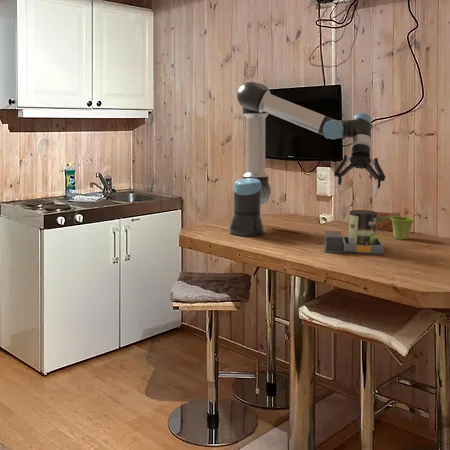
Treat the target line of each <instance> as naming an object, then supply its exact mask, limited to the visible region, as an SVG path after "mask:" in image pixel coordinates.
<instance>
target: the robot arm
mask: <svg viewBox="0 0 450 450" xmlns="http://www.w3.org/2000/svg"><path fill="white" fill-rule="evenodd" d="M236 97H237V102H238V103H239V105H240V106H241V107H242V115H243V116H244V117H245V130H246V131H245V138H246V139H245V142H246V144H245V147H246V149H245V156H246V157H245V158H246V159H245V167H246V168H245V172H244V174H243V175H242V178H239V179H237V180H235V181H234V185H233V216H232V219H231V222H230V224H229V230H228V233H229V234H231V235H233V236H234V235H235V236H239V237H241V236H242V237H243V236H244V237H255V236H261V235H264V234H265V229H264V224H263V221H262V216H261V208H262V207H261V205H263V204H265V203H266V202H267V201H268V200H269V198H270V196H271V194H272V193H271V191H272V190H271V189H272V188H271V186H270V183H269V181H270V180H269V174H268V173H267V172H266V118H267V117H268V116H269V114H270V115H272V116H274V117H277V118H280V119H282V120H285V121H287V122H289V123H292V124H294V125H296V126H299V127H301V128H303V129H304V128H305V129H307V130H309V131H312V132H314V133H316V134H319V135H322V136H324V138H325V139H330V140H338V139H350V138H351V139H352V140H351V141H352V142H351V154H350V156H348V155H346V154H344V156H343V157H342V158H343V159H342V161H341V163H340V164H339V165H338V166H337V168H336V169H335V171H334V174H333V176H334V177H335V178H337V180H338V181H337V184H338V186H340V188H339V189H340V190H339V192H340V194H343V192H344V176H345V175H346V174H347V173H349V172H350V171H351V170H353V169H354V168H355V169H362V170H364V169H365V170H366V171H367V172H368V173H369V174H370V176H372V177H373V179H374V180H375V181H374V192H373V193H374V194H373V195H374V196H373V197H377V195H378V191H379V189H381V183H382V182H384V181H385V180H386V176H385V173H384V171H383V169H382V168H381V166H380V164H379V159H378V158H377V157H375V158H371V141H372V139H371V138H372V117H371V116H370V115H369V114H367V113H366V112H365V113H364V112H359V113H357V114H355V115H354V116H353V119H346V120H345V119H344V120H343V119H342V120H341V119H339V120H337V119H334V118H332V117H329V116H326V115H324V114H321V113H319V112H316V111H314V110H312V109H309V108H308V107H307V108H306V107H304V106H301V105H298V104H296V103H294V102H291V101H289V100H286V99H283V98H281V97H278V96H277V95H274V94H271V91H270V89H269V88H268V87H267V86H266V85H265V84H263V83H261V82H259V83H258V82H255V81H246V82H244V83H243V84H242V85H240V87H239V88H238V90H237V94H236ZM349 161H350V163H349V164H348V165H347V166H346V167H345V165H346V163H347V162H349ZM371 164H372V165H373V166H374V168H373V167H372V165H371ZM344 167H345V168H344ZM343 168H344V169H343ZM342 169H343V170H342ZM375 170H376V171H375Z"/></svg>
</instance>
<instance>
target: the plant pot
mask: <svg viewBox="0 0 450 450" xmlns="http://www.w3.org/2000/svg"><path fill="white" fill-rule="evenodd" d="M391 219H392V223H393V231H392V233H393V238H394V239H396V240H400V241H402V240H409V238H410V232H411V228H412V224H413V221H414V220H415V219H414V218H413V217H407V216H401V217H391Z"/></svg>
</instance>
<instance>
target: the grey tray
mask: <svg viewBox="0 0 450 450" xmlns="http://www.w3.org/2000/svg"><path fill="white" fill-rule="evenodd" d="M324 239H325V240H324V242H323V249H324V253H330V254H331V253H332V254H351V255H373V256H374V255H376V256H384V254H385V253H384V249H385V245H384V244H383V242H382V241H381V239H380V238H379V237H378V238H377V237H375V245H362V244H348V239H349V236H343V233H342V231H339V230H325V237H324Z"/></svg>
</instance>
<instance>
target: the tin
mask: <svg viewBox="0 0 450 450" xmlns="http://www.w3.org/2000/svg"><path fill="white" fill-rule="evenodd" d="M391 217H402V216H401V215H400V214H399V213H396V212H385V211H384V212H381V211H377V220H376V231H384V232H385V231H386V232H393V223H392V219H391Z"/></svg>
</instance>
